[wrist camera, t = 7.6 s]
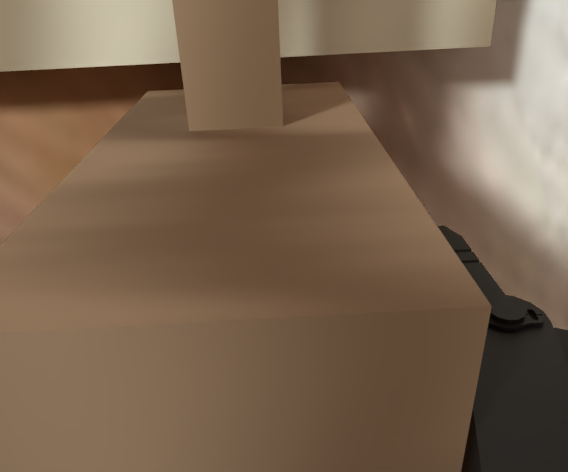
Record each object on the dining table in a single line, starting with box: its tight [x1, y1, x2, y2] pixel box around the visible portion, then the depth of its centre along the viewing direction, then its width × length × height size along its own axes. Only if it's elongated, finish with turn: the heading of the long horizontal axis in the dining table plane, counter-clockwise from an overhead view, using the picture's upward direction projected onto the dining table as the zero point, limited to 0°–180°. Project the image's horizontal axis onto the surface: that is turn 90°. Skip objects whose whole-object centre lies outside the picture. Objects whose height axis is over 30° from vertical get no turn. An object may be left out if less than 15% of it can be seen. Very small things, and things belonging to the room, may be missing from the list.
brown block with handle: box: [0, 0, 492, 472], centre depth 9 cm, size 5×13×10 cm, turn 2°
